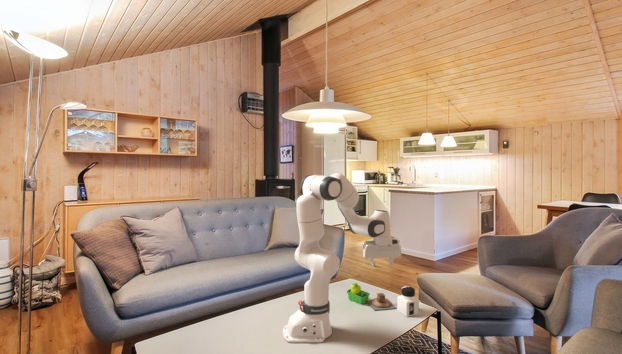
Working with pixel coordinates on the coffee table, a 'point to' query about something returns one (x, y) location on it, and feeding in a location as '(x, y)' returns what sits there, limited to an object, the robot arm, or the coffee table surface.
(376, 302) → the lid
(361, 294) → the fruit basket
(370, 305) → the mat
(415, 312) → the container
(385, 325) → the coffee table surface
